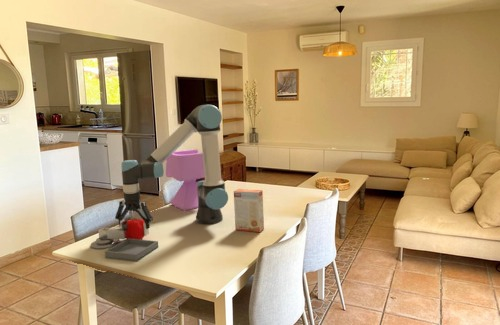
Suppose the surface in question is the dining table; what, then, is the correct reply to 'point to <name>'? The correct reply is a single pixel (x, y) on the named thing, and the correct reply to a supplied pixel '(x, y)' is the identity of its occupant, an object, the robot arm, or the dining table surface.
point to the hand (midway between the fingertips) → (134, 233)
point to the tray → (131, 249)
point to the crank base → (104, 243)
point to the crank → (113, 232)
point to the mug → (134, 215)
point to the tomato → (135, 229)
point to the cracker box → (249, 210)
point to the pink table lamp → (185, 176)
